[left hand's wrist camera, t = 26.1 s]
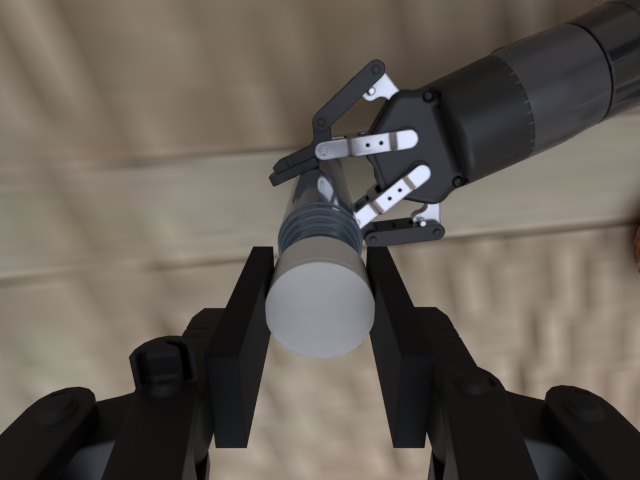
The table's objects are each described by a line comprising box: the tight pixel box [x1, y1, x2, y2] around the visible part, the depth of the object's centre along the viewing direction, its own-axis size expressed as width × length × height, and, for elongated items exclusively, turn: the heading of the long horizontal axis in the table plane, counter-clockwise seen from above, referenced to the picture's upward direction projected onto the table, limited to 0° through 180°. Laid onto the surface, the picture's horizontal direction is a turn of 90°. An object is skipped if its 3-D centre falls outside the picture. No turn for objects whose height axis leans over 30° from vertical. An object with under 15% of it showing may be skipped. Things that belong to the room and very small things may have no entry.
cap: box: [265, 236, 375, 358], centre depth 13 cm, size 4×4×2 cm
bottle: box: [278, 158, 362, 256], centre depth 24 cm, size 4×4×23 cm
